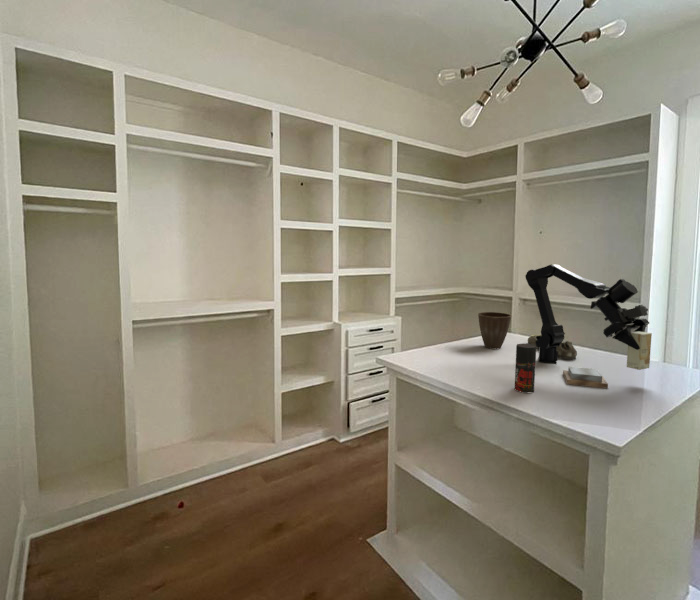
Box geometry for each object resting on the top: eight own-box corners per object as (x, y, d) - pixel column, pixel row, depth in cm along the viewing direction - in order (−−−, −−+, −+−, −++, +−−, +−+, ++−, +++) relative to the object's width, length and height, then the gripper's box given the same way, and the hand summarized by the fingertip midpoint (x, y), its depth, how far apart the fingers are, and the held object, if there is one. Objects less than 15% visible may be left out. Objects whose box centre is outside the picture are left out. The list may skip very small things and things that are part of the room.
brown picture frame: (567, 383, 137) (567, 374, 136) (563, 374, 148) (563, 365, 147) (607, 388, 132) (608, 378, 132) (600, 377, 143) (601, 368, 143)
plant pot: (513, 346, 192) (515, 313, 190) (504, 352, 180) (505, 317, 178) (483, 342, 201) (484, 311, 199) (472, 347, 189) (473, 314, 188)
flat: (544, 343, 200) (544, 328, 199) (584, 360, 167) (585, 343, 166) (522, 343, 199) (523, 328, 198) (558, 361, 167) (559, 343, 166)
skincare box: (639, 370, 132) (642, 334, 131) (625, 367, 136) (627, 332, 134) (650, 368, 135) (652, 332, 134) (636, 365, 139) (638, 330, 137)
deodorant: (510, 388, 132) (512, 344, 131) (523, 386, 135) (525, 343, 133) (524, 394, 127) (526, 348, 125) (538, 391, 129) (540, 346, 128)
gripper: (615, 298, 131) (650, 337, 123) (645, 295, 140) (679, 331, 132) (590, 318, 139) (620, 356, 131) (620, 314, 148) (650, 349, 140)
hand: (643, 348), depth 133 cm, fingers closed on skincare box, 6 cm apart
